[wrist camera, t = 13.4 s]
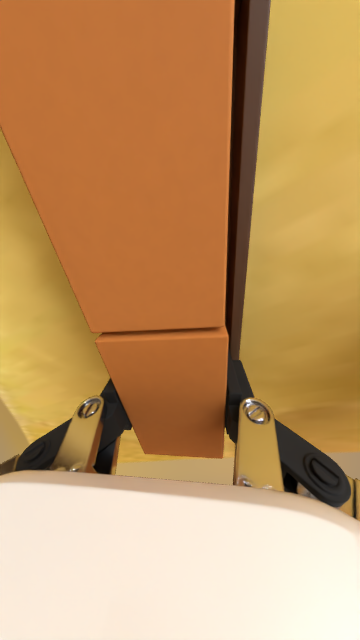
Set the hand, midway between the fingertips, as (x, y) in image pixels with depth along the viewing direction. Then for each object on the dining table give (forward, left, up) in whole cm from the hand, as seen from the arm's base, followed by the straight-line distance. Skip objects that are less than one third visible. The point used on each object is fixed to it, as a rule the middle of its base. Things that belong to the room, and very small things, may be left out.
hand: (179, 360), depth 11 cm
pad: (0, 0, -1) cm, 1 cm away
